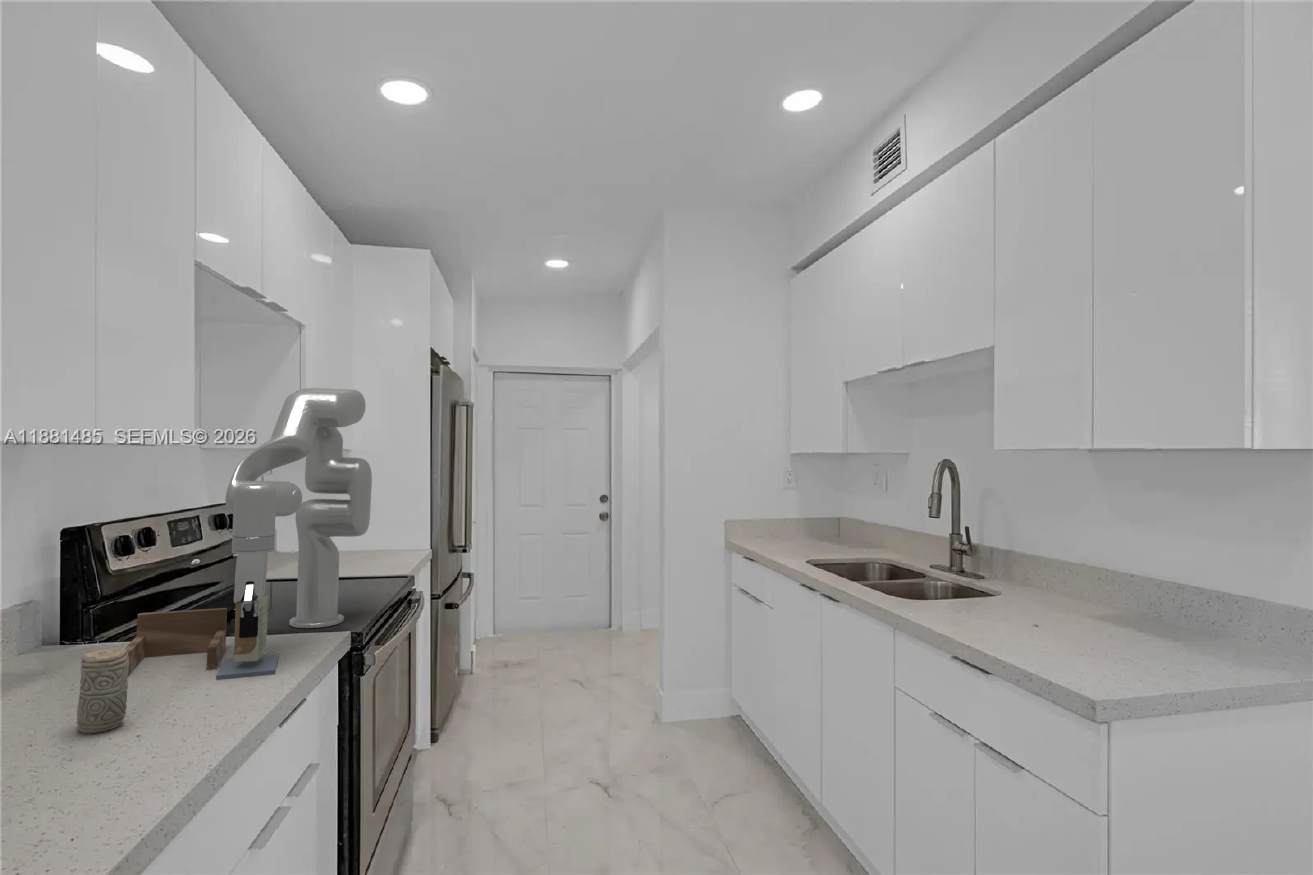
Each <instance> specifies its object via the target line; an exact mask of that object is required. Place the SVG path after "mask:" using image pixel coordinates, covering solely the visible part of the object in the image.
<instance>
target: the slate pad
mask: <svg viewBox="0 0 1313 875" xmlns="http://www.w3.org/2000/svg"><path fill="white" fill-rule="evenodd" d="M279 657H280V654H279V653H273V654H264V655H263V656H262V657H261V658H260V659H259V660H257V661H245V662H234V657H229V658H228V657H227V658H226V657H225V658H223V660H222V662H221V665H220V666H219V669H218V671H217V673H216V675H215V680H216V681H218V680H229V679H230V680H231V679H240V678H248V677H258V676H267V675H268V676H270V675H275V674H276V671H277V667H278V662H279Z"/></svg>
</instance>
